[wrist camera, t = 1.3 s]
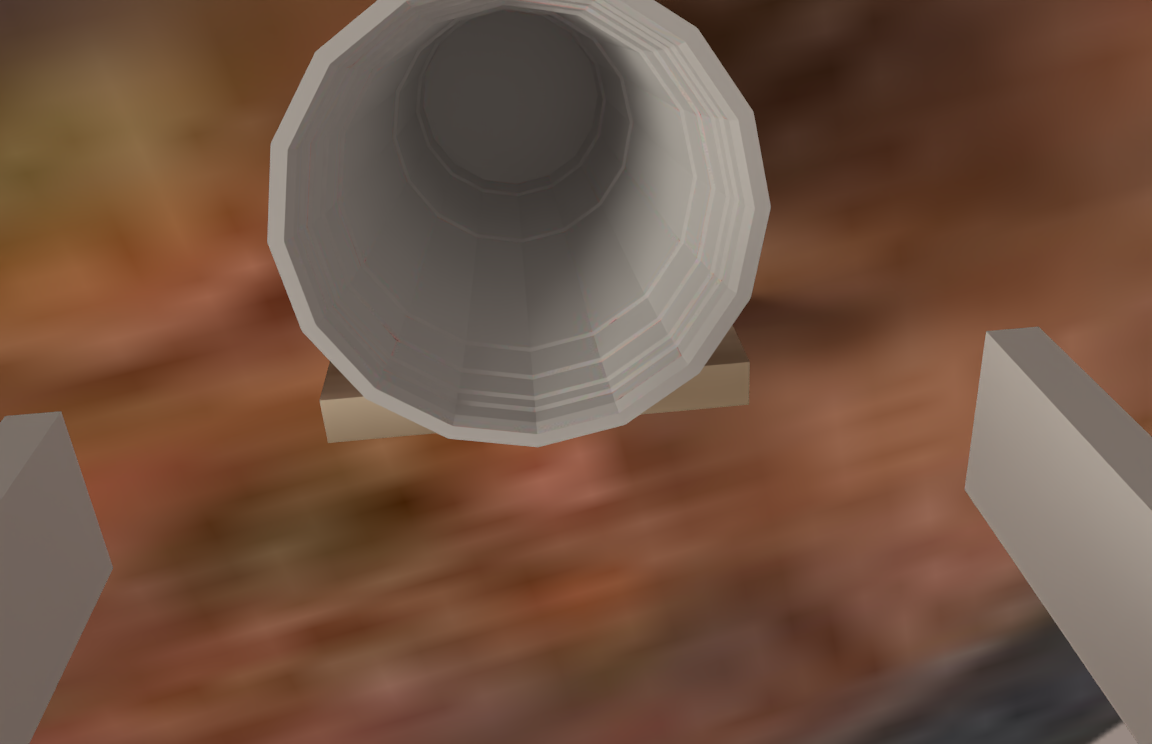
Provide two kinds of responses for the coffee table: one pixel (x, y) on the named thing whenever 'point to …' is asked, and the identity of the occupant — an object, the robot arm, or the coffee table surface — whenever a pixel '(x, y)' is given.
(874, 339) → the coffee table surface
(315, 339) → the plastic cup
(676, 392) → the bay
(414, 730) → the coffee table surface
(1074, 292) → the coffee table surface
